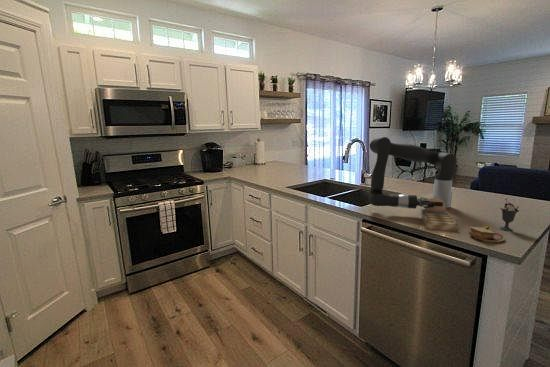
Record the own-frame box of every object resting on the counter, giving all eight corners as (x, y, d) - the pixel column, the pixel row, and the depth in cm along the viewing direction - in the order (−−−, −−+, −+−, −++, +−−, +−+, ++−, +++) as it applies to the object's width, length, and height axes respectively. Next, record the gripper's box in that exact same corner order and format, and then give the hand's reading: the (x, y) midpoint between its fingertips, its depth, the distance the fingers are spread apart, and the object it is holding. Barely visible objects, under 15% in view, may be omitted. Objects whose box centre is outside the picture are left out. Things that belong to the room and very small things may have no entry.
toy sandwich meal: (511, 243, 116) (513, 233, 115) (478, 243, 117) (480, 233, 116) (491, 232, 128) (492, 222, 127) (461, 232, 129) (462, 223, 128)
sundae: (493, 227, 133) (498, 197, 130) (506, 226, 134) (511, 197, 130) (505, 232, 127) (510, 201, 123) (519, 231, 127) (524, 201, 124)
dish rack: (426, 228, 134) (426, 221, 134) (422, 219, 146) (422, 213, 146) (456, 230, 130) (457, 223, 129) (449, 221, 142) (450, 215, 141)
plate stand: (421, 218, 148) (422, 212, 147) (420, 214, 153) (420, 208, 153) (447, 220, 144) (447, 213, 143) (444, 216, 149) (445, 210, 149)
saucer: (423, 215, 149) (425, 197, 147) (423, 214, 151) (425, 197, 149) (444, 217, 146) (446, 199, 144) (443, 215, 147) (446, 198, 145)
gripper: (408, 198, 144) (446, 200, 139) (406, 192, 157) (440, 193, 151) (407, 211, 146) (444, 214, 140) (405, 204, 159) (438, 206, 153)
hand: (442, 203), depth 146 cm, fingers closed on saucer, 2 cm apart
